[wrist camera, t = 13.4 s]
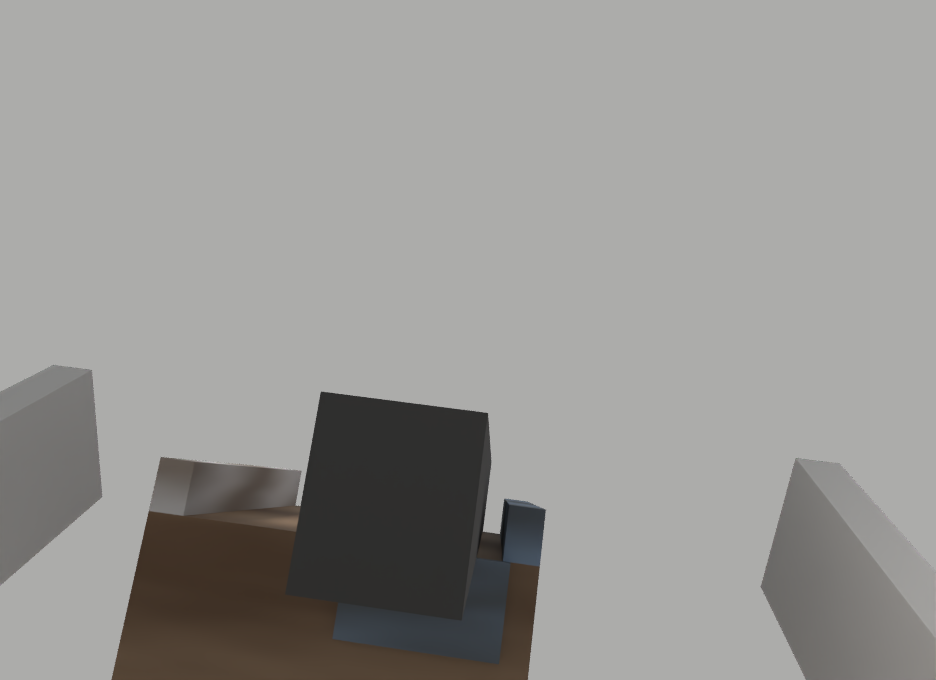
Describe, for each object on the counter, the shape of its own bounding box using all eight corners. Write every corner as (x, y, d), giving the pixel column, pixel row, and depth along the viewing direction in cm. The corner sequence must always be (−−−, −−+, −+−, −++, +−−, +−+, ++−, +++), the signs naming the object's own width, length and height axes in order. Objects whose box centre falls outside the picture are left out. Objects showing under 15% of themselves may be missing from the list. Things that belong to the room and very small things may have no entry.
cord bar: (461, 620, 10) (488, 412, 10) (284, 594, 10) (321, 391, 11) (482, 530, 30) (491, 462, 31) (424, 522, 31) (434, 454, 31)
